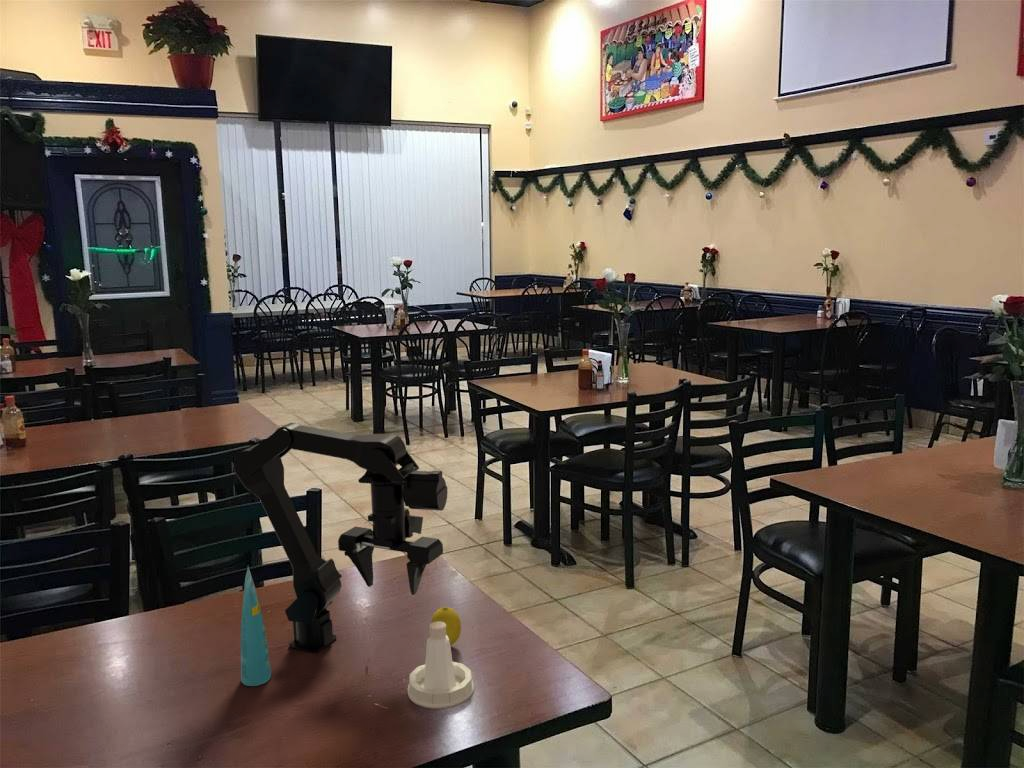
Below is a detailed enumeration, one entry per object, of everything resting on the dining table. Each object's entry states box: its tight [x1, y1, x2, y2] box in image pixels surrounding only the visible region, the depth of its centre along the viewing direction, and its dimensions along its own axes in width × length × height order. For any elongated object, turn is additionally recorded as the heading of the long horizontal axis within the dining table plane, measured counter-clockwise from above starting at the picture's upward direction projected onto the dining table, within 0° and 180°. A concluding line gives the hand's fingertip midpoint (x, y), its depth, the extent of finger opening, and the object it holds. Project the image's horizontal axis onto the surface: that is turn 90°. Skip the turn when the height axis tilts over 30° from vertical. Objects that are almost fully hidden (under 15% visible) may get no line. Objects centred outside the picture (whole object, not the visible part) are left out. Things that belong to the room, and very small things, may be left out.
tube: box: [240, 565, 272, 687], centre depth 137 cm, size 7×5×19 cm, turn 26°
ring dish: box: [407, 661, 475, 710], centre depth 134 cm, size 11×11×2 cm
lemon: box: [430, 605, 462, 646], centre depth 148 cm, size 6×6×8 cm
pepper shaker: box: [424, 621, 456, 691], centre depth 134 cm, size 5×5×11 cm
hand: (392, 589), depth 145 cm, fingers open, 9 cm apart
